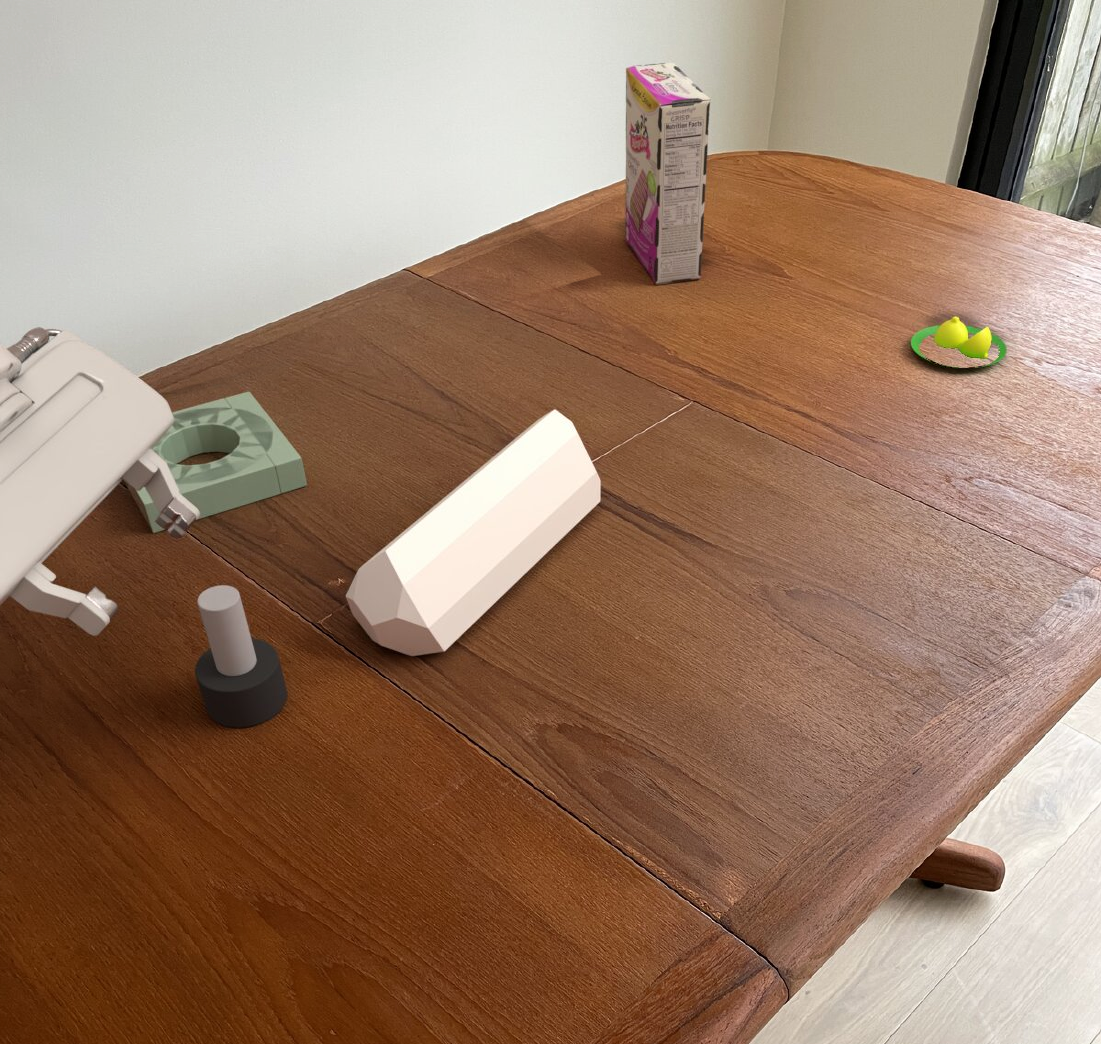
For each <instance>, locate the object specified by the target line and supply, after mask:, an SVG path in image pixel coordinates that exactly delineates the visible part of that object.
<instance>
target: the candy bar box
mask: <svg viewBox="0 0 1101 1044" xmlns="http://www.w3.org/2000/svg"><path fill="white" fill-rule="evenodd" d="M710 108H711V98H710V97H709V96H708V95H706V93H705V92H704V91H703V90H702V89H700V87H699V86H698V85H697V84H696V83H695V82H694V81H692V79H690V77H689V76H687V75H686V73H685V72H684V71H683V70H681V68H680V67H679V66H678V65H676V63H675V62H663V63H660V62H659V63H650V64H649V63H648V64H645V65H641V64H637V65H632V66H628V67H626V68H625V211H624V213H625V220H624V222H625V223H624V225H625V227H624V241H625V243H626V244H627V245H628V247H629V246H630V247H629V248H630V250H631V251H632V252H633V254H634V255H635V256H636V258H637V260H638V261H639V262H640V263H641V265H642V266H643V268H644V269H645V271H646V272H647V274H648V275H649V278H651V279H652V282H653V283H654V284H655V285H669V284H676V283H682V282H687V281H688V282H689V281H695V280H700V279H701V278H702V262H703V261H702V260H703V245H704V243H703V242H704V226H705V225H704V224H705V223H704V222H705V206H706V205H705V204H706V183H707V168H708V167H707V166H708V152H709V151H708V150H709V147H708V145H709V125H710V123H709V122H710Z"/></svg>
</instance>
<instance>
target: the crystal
mask: <svg viewBox="0 0 1101 1044" xmlns="http://www.w3.org/2000/svg"><path fill="white" fill-rule="evenodd" d="M601 483H602V482H601V478H600V476H599V474H598V472H597V469H596V468H595V465H594V464H593V460H592V459H591V457H590V455H589V453H588V451H587V448H586V447H585V445H584V443H583V441H582V438H581V436H580V435H579V433H578V431H577V429H576V427H575V425H574V423H573V421H571V420H570V419H569V418H567V417H566V416H564V415H563V414H562V413H561V412H560V411H558V410H557V409H556V408H555V409H552V410H551V411H549V412H548V413H546V414H544V415H543V416H541V417H540V418H539V419H537V420H536V421H535V422H534V423H532V424H531V425H530V426H528V427H527V428H526V429H525V430H524V431H522V432H521V433H520V434H519V435H518V436H517V437H515V438H514V439H513V440H511V442H509V443H508V444H507V445H506V446H504V447H503V448H502V449H501V450H499V452H497V453H496V454H494V456H492V457H491V458H490V459H489V460H488V461H486V462H485V463H484V464H483V465H481V467H479V468H478V469H477V470H476V471H474V472H473V473H471V475H469V476H468V477H467V478H466V479H465V480H464V481H462V482H461V483H460V484H459V485H458V486H456V487H455V488H454V489H452V491H450V492H449V493H448V494H447V495H446V496H444V497H443V498H442V499H440V500H439V501H438V502H437V503H436V504H435V505H434V506H432V507H431V508H430V509H429V510H427V511H426V512H425V513H424V514H423V515H422V516H420V517H419V518H418V519H417V520H416V521H414V522H413V523H412V524H410V525H409V526H408V527H407V528H406V529H404V530H403V531H402V532H401V533H400V534H399V535H397V536H396V537H395V538H394V539H393V540H391V541H390V542H389V543H387V545H386V546H384V547H383V548H382V549H381V550H379V551H378V552H377V553H375V555H373V556H372V557H371V558H369V560H367V561H366V562H365V563H363V565H361V566H360V567H359V568H358V569H357V571H356V574H355V575H354V578H353V580H352V582H351V584H350V585H349V588H348V590H347V592H346V594H345V599H346V601H347V604H348V607H349V609H350V612H351V614H352V616H353V617H354V619H355V620H356V621H357V623H358V624H359V625H360V626H361V628H362V629H363V630H364V632H365V633H366V634H367V636H369V638H370V639H371V641H373V642H374V643H377V644H378V645H379V646H381V647H384V648H387V649H389V650H392V651H396V652H399V653H401V654H404V655H407V656H410V657H416V656H423V655H430V654H436V653H437V654H438V653H444V652H446V651H447V650H448V649H449V648H450V647H451V646H452V645H453V644H454V643H455V642H456V641H457V640H458V639H460V637H462V635H463V634H464V633H465V632H466V631H468V629H470V627H472V625H474V624H475V623H476V622H477V621H478V620H479V619H480V618H481V617H482V616H483V615H484V614H485V613H486V612H487V611H488V610H489V609H491V607H493V606H494V604H495V603H497V601H499V600H500V598H502V597H503V596H504V595H505V594H506V593H507V592H508V591H509V590H510V589H511V588H512V587H513V586H514V585H515V584H516V583H518V581H519V580H520V579H521V578H522V577H523V576H524V575H526V574H527V573H528V572H529V571H530V570H531V569H532V568H533V567H534V566H535V565H536V564H537V563H538V562H539V561H540V560H541V559H542V558H544V556H545V555H546V554H547V553H549V552H550V550H552V549H553V548H554V547H555V546H556V544H558V543H559V542H560V541H561V540H562V539H563V538H564V537H565V536H566V535H567V534H568V533H569V532H571V530H572V529H574V528H575V526H576V525H577V524H578V523H580V522H581V521H582V520H583V519H584V518H585V517H586V516H587V515H588V514H589V513H590V512H591V511H592V510H594V508H596V506H597V505H599V503H600V502H601V488H602V487H601Z"/></svg>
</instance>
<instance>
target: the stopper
mask: <svg viewBox="0 0 1101 1044" xmlns="http://www.w3.org/2000/svg"><path fill="white" fill-rule="evenodd" d="M196 603H197V607H198V611H199V613H200V616H201V620H202V624H203V628H204V630H205V632H206V637H207V641H208V644H209V648H208V649H207V650H206V651H204V652H203V653H202V654H201V655H200V657H199V658H198V660H197V662H196V664H195V667H194V675H195V678H196V682H197V685H198V688H199V691H200V695H201V698H202V701H203V704H204V707H205V710H206V713H207V715H208V717H209V718H210V719H211V720H212V721H214V722H215V723H217V724H219V725H220V726H224V727H227V728H234V729H235V728H237V729H238V728H249V727H254V726H258V725H260V724H263V723H266V722H267V721H269V720H271V719H272V718H273V717H275V716H276V715H277V714H279V713H280V711H281V710H282V709H283V708H284V707H285V705H286V703H287V700H288V688H287V686H286V685H287V684H286V680H285V677H284V672H283V668H282V665H281V661H280V657H279V653H278V651H277V649H276V648H275V647H274V646H273V645H272V644H270V643H269V642H267V641H265V640H262V639H259V638H256V637H255V638H254V637H252V636H251V632H250V629H249V624H248V621H247V617H246V613H245V609H244V606H243V602H242V598H241V594H240V592H239V590H238V589H237V588H235V587H234V586H231V585H225V584H221V585H215V586H211V587H209V588H207V589H205V590H203V591H202V592H201V593H200V594H199V595H198V597H197V601H196Z"/></svg>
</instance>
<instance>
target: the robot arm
mask: <svg viewBox="0 0 1101 1044" xmlns="http://www.w3.org/2000/svg"><path fill="white" fill-rule="evenodd" d="M50 337H53V338H51V339H50ZM172 412H173V411H172V409H171V406H170V404H169V402H168V401H167V400H166V399H165V398H164V397H163V395H161V394H160V393H159V392H157V391H156V390H155V389H154V388H153V387H152V386H150V385H149V384H148V383H146V382H145V381H144V380H142V379H141V378H140V377H138V376H137V375H136V374H134V373H133V372H131V371H130V370H129V369H128V368H126V367H125V366H123V365H122V364H120V363H119V362H118V361H117V360H115V359H113V358H112V357H111V356H109V355H107V354H106V353H105V352H103V351H102V350H100V349H98V348H96V347H95V346H93V345H91V344H89V343H86V342H84V341H83V340H81V339H80V337H78V335H75V334H74V333H72V332H71V331H69V330H65V329H64V330H60V329H57V328H47V329H46V328H43V327H40V326H37V327H35V328H31V329H30V330H28V331H27V332H26V333H25V334H24V335H23V336H22V337H21V339H20V340H19V341H17V342H16V343H14V344H12V345H10V346H9V347H5V346H4V345H2V344H1V343H0V607H1V606H2V605H3V603H5V602H6V601H7V600H8V599H9V597H10V598H12V599H13V600H14V601H16V602H17V603H18V604H20V605H21V606H22V607H24V608H25V609H26V610H28V611H30V612H33V613H34V612H35V613H40V614H43V615H48V616H52V617H58V618H62V619H69V620H71V622H73V623H74V624H76V625H77V626H78V627H79V628H81V629H82V630H83V631H84V632H85V633H87V634H89V635H91V636H92V637H95V636H99V635H100V633H101V632H102V631H103V630H104V629H105V628H106V627H107V626H108V625H109V623H110V622H111V621H113V619H114V618H115V616H116V615H117V614H118V612H119V610H120V609H119V608H120V607H119V606H118V604H117V603H116V602H115V601H114V600H113V599H109V598H107V596H106V594H105V593H104V592H103V591H101V590H100V589H99V588H98V587H96V586H94V587H93V588H92V589H91V590H89V592H88V593H87V594H86V593H83V592H80V591H77V590H73V589H70V588H69V587H68V588H67V587H64V586H61V585H58V584H54V583H53V582H54V581H55V579H56V578H57V576H56V574H55V573H54V572H53V571H52V570H50V569H49V568H47V567H46V566H45V565H44V564H43V563H44V562H45V561H46V559H47V558H48V557H50V555H51V554H52V553H54V551H55V550H56V549H57V548H58V547H59V546H60V545H61V544H62V543H63V542H64V541H65V540H66V539H67V538H68V537H69V536H70V535H71V534H72V533H73V532H74V531H75V530H76V529H77V527H79V526H80V525H81V523H82V522H83V521H84V520H85V519H87V517H88V516H89V515H90V514H92V512H93V511H94V510H95V509H96V508H97V507H98V506H99V505H100V504H101V503H102V502H103V501H104V500H105V499H106V498H107V497H108V495H110V493H112V491H113V490H115V488H116V487H117V486H118V485H119V484H120V483H121V482H122V481H124V480H125V481H126V482H127V483H129V484H130V485H131V486H132V487H134V488H135V489H136V490H137V491H140V490H141V489H142V488H143V487H145V489H146V491H147V492H148V494H149V496H150V497H151V499H152V501H153V502H154V504H155V506H156V508H157V509H158V511H159V513H161V512H162V513H161V514H160V515H159V516H158V517H157V518H156V520H155V522H156V523H157V524H158V525H159V526H161V527H162V528H163V529H166V531H167V532H168V534H169V535H170V536H172V538H174V539H181V538H183V536H184V535H185V534H186V533H187V532H188V531H189V530H190V528H192V526H193V525H194V524H195V523H196V522H197V519H198V518H199V517H200V512H199V510H198V509H197V508H196V507H195V506H194V505H193V504H192V503H190V502H189V501H188V500H187V499H186V498H185V497H183V496H182V495H181V494H180V493H179V492H180V491H179V489H178V487H177V484H176V482H175V480H174V478H173V476H172V474H171V472H170V469H169V467H168V465H167V463H166V461H164V460H163V459H162V458H161V457H160V456H159V455H157V454H156V453H155V452H154V451H153V450H152V449H153V448H154V447H155V446H156V444H157V443H158V442H159V441H160V440H161V439H162V437H163V436H164V435H165V434H166V432H167V431H168V430H169V428H170V427H171V426H172V424H173V423H174V417H173V414H172ZM123 479H124V480H123ZM198 520H199V519H198Z"/></svg>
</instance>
